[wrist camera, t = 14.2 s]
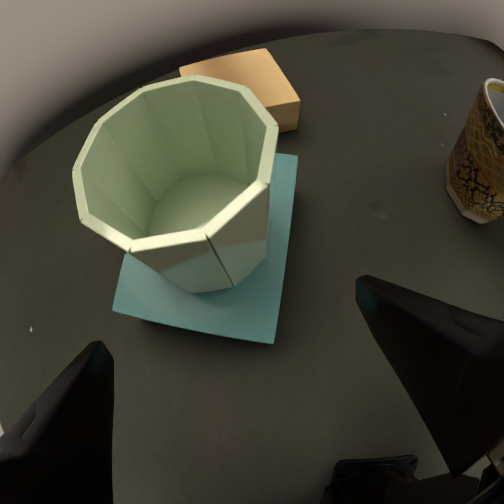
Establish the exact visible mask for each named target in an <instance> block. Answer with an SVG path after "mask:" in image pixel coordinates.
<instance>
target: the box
mask: <svg viewBox="0 0 504 504" xmlns="http://www.w3.org/2000/svg"><path fill="white" fill-rule="evenodd" d="M297 164H298V156H295V155H288V154H280V153H277V167H276V182H275V196H274V209H273V219H272V226H271V232H270V239H269V245H268V252H267V255H266V257H265V258H264V259H263V260H262V261H261V262H260V263H259V264H258V265H257V267H256V268H255V269H254V270H253V271H252V272H251V273H250V274H249V275H248V276H247V277H245V278H244V279H243V280H241V281H240V282H239V283H238V284H237V285H236V286H234V285H233V286H234V287H233V288H227V289H222V290H218V291H212V292H199V293H188V292H186V291H184V290H183V289H181V288H179V287H177V286H176V285H174V284H172V283H170V282H169V281H167V280H165V279H164V278H162V277H160V276H158V275H157V274H155V273H154V272H152V271H150V270H149V269H147V268H146V267H144V266H143V265H141V264H140V263H138V262H137V261H135V260H134V259H132V258H131V257H129V256H128V255H126V254H125V255H124V259H123V263H122V267H121V271H120V276H119V280H118V284H117V289H116V293H115V298H114V303H113V308H112V311H114V312H117V313H121V314H125V315H129V316H132V317H136V318H140V319H144V320H148V321H153V322H157V323H161V324H165V325H170V326H174V327H179V328H183V329H188V330H193V331H198V332H203V333H208V334H213V335H219V336H224V337H230V338H236V339H241V340H248V341H254V342H260V343H267V344H274V340H275V334H276V327H277V321H278V314H279V307H280V301H281V294H282V287H283V280H284V272H285V265H286V257H287V250H288V242H289V234H290V226H291V218H292V209H293V201H294V192H295V183H296V173H297Z"/></svg>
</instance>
